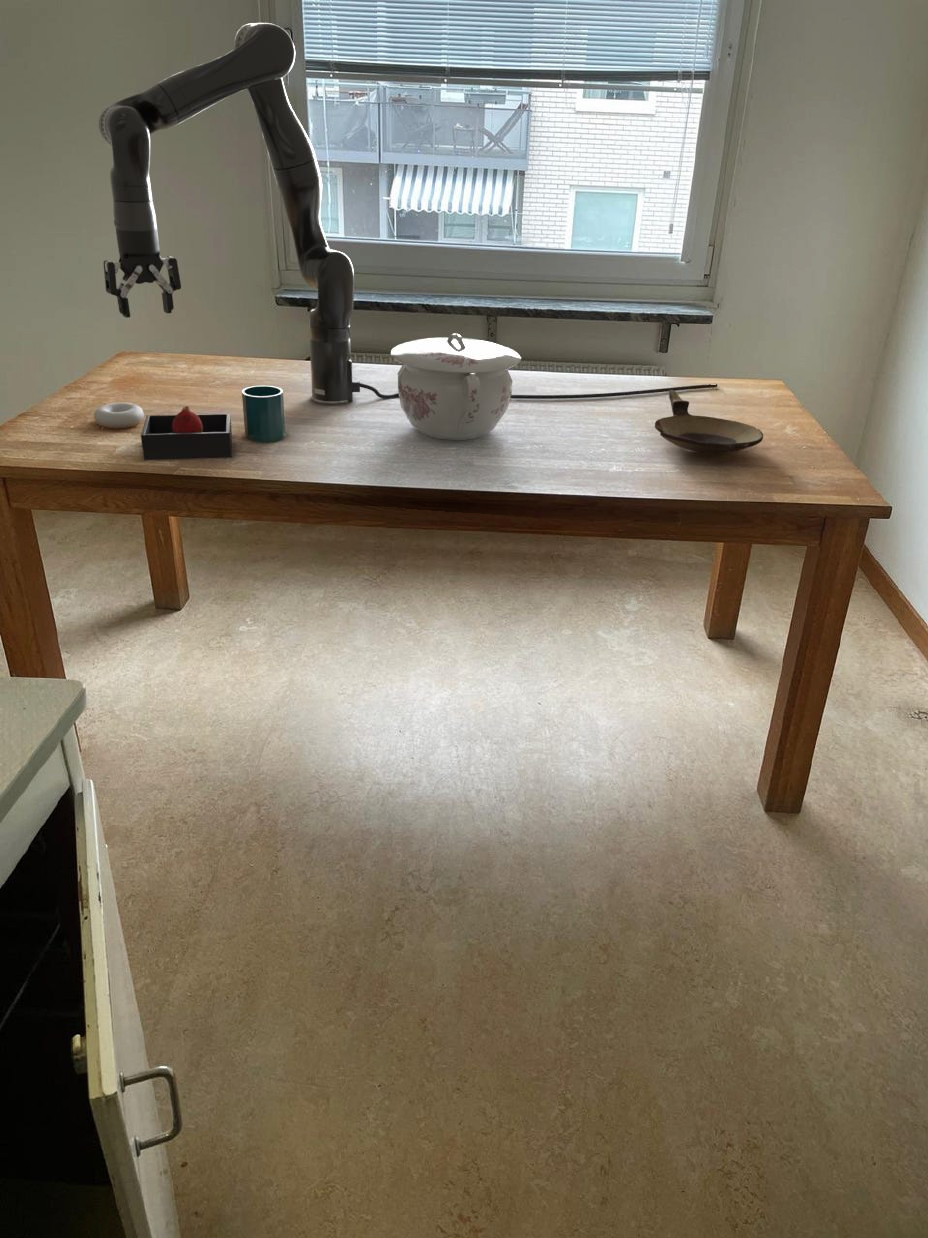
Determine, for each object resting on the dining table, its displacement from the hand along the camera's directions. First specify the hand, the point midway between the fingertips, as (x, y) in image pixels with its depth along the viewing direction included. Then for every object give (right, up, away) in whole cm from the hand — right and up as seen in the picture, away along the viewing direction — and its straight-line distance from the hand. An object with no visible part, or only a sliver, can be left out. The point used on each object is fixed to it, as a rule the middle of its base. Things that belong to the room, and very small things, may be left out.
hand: (147, 314), depth 178 cm
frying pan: (+115, -23, +17) cm, 119 cm away
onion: (+8, -26, +1) cm, 27 cm away
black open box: (+8, -26, +1) cm, 28 cm away
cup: (+21, -22, +9) cm, 32 cm away
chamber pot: (+60, -20, +18) cm, 66 cm away
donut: (-10, -19, +13) cm, 25 cm away
